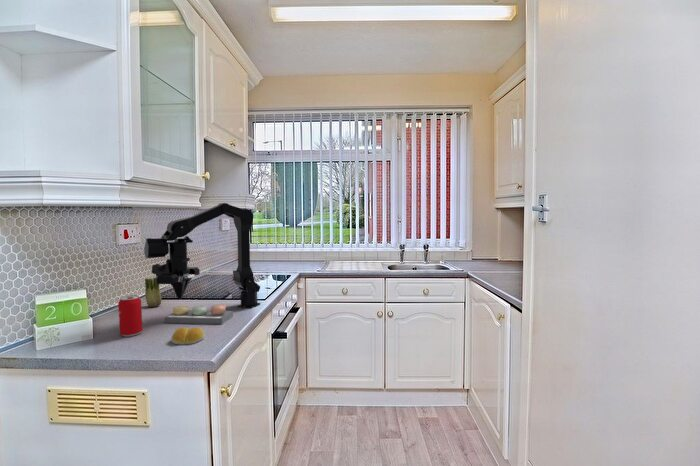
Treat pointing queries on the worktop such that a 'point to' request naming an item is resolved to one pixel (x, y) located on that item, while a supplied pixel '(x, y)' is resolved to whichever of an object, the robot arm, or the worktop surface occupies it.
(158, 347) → the worktop surface
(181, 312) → the ochre button
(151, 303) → the fennel bulb
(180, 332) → the bread roll
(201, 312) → the sage button
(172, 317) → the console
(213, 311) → the terracotta button
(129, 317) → the beverage can
